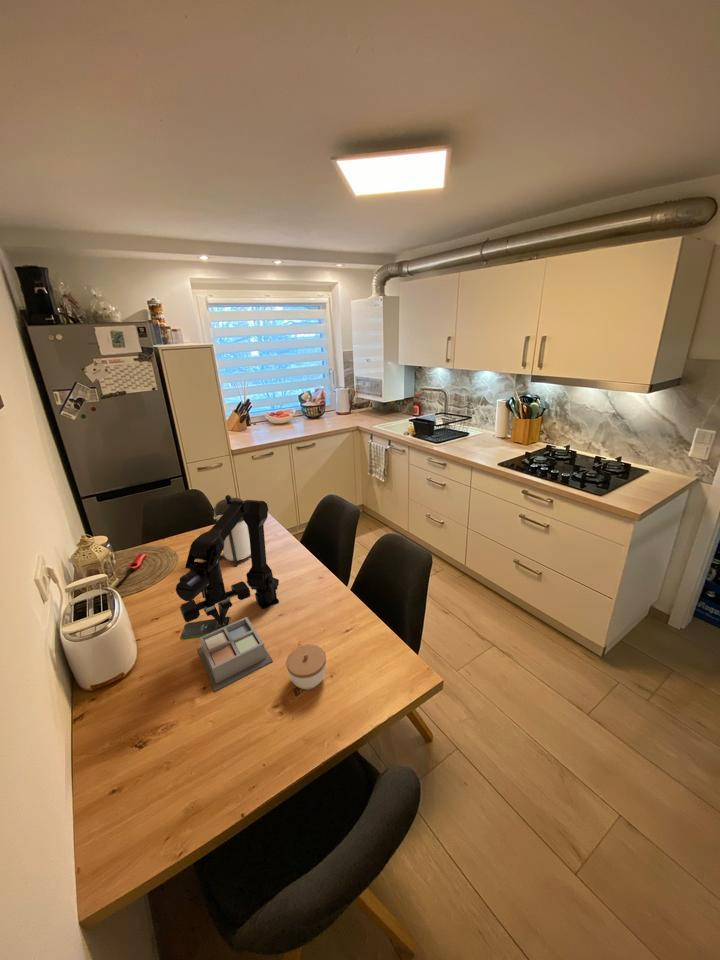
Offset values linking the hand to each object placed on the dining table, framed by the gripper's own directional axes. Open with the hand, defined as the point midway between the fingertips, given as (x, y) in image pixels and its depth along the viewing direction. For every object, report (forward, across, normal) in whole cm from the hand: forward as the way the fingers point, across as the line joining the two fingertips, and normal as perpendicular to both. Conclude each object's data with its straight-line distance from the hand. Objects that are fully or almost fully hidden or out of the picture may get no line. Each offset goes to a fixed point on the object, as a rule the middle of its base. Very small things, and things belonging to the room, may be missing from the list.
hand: (221, 624), depth 115 cm
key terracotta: (+9, +2, +6) cm, 11 cm away
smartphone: (+11, +2, -15) cm, 19 cm away
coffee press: (+10, -23, -53) cm, 58 cm away
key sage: (+9, -5, +7) cm, 12 cm away
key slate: (+10, -5, 0) cm, 11 cm away
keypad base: (+10, -1, +3) cm, 11 cm away
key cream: (+9, +2, -1) cm, 9 cm away
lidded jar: (+11, -15, +25) cm, 31 cm away
